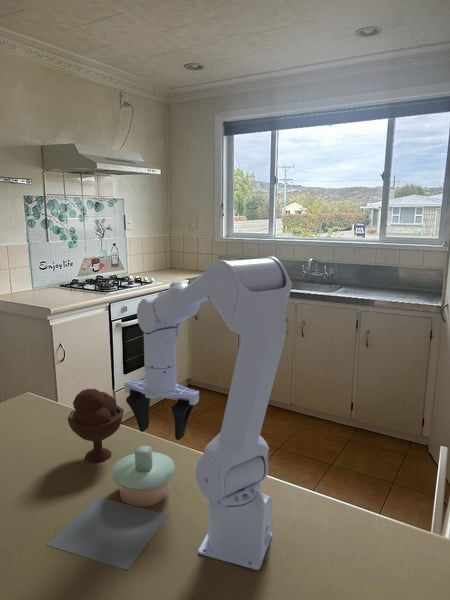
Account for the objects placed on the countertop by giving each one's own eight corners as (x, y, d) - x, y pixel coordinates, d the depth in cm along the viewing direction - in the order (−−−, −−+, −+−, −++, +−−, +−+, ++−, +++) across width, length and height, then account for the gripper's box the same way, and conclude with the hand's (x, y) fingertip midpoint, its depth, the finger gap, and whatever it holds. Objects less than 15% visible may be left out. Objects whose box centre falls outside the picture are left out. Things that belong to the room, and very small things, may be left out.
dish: (178, 482, 85) (178, 463, 84) (155, 511, 76) (154, 490, 75) (136, 473, 87) (135, 454, 87) (109, 500, 79) (108, 479, 78)
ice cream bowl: (112, 474, 87) (109, 401, 84) (59, 467, 89) (55, 396, 86) (133, 446, 97) (131, 381, 94) (86, 441, 99) (82, 376, 97)
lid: (184, 462, 84) (184, 441, 83) (156, 496, 74) (156, 472, 73) (133, 451, 88) (132, 430, 87) (99, 482, 78) (98, 459, 77)
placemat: (168, 516, 75) (168, 514, 75) (127, 571, 64) (127, 570, 63) (97, 497, 80) (97, 496, 80) (47, 546, 68) (47, 545, 68)
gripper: (113, 365, 80) (116, 435, 83) (186, 376, 75) (186, 451, 77) (135, 353, 87) (137, 419, 89) (204, 364, 81) (204, 433, 84)
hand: (161, 433), depth 84 cm, fingers open, 7 cm apart
